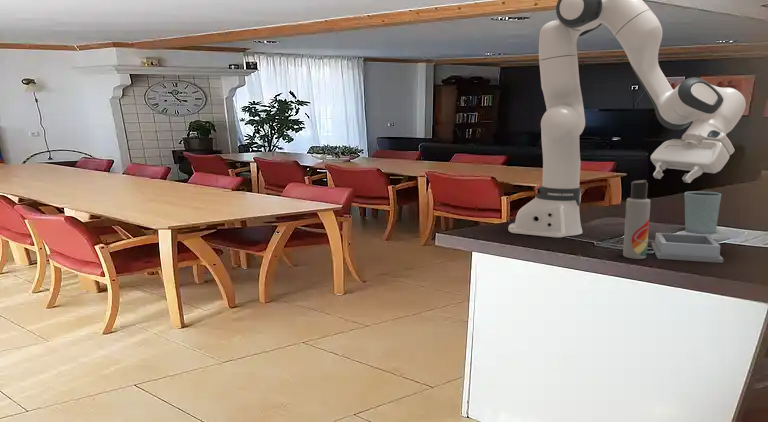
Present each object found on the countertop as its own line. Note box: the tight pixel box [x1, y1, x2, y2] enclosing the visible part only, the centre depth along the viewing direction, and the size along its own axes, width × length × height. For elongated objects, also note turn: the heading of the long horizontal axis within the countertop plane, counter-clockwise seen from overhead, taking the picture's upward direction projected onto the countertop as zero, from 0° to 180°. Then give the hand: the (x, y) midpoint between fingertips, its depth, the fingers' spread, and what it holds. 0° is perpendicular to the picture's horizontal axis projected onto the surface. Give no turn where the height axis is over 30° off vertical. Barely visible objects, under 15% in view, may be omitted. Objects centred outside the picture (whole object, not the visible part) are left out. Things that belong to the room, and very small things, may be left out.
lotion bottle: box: [622, 179, 651, 260], centre depth 156 cm, size 6×6×20 cm
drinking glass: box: [684, 190, 722, 235], centre depth 188 cm, size 10×10×12 cm
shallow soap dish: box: [651, 232, 724, 264], centre depth 160 cm, size 15×15×4 cm
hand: (670, 179), depth 158 cm, fingers open, 8 cm apart
